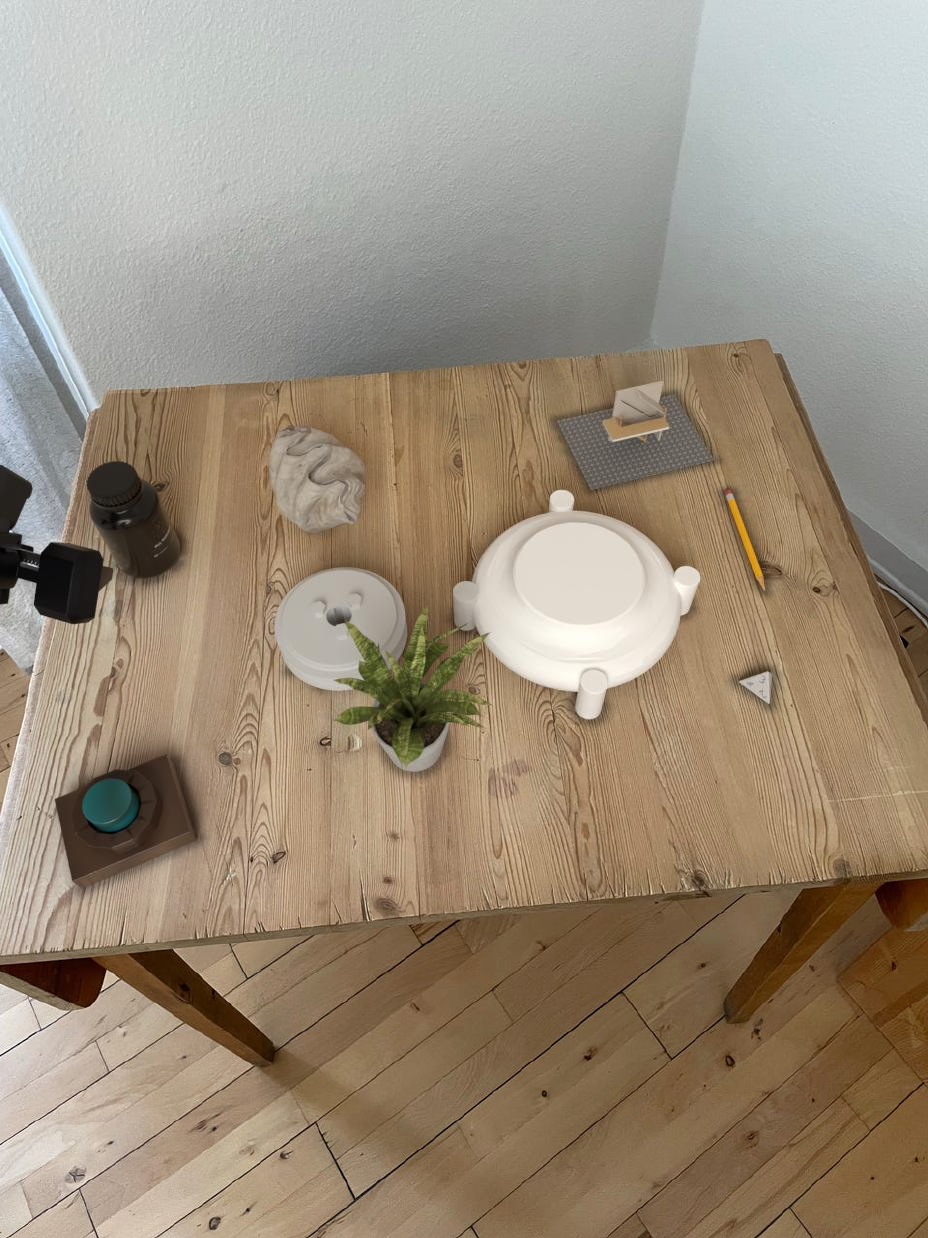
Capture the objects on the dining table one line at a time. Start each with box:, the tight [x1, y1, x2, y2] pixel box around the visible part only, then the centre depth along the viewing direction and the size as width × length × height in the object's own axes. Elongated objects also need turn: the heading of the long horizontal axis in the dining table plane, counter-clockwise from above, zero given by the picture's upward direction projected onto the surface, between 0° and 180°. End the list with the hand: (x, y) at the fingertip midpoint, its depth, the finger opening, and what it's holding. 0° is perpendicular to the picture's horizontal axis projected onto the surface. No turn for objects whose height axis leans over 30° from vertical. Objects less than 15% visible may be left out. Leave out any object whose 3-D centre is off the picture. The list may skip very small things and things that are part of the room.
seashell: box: [268, 424, 367, 534], centre depth 92 cm, size 10×15×10 cm
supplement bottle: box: [86, 460, 182, 579], centre depth 88 cm, size 7×7×12 cm
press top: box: [83, 778, 139, 832], centre depth 73 cm, size 4×4×2 cm
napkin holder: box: [602, 380, 670, 443], centre depth 98 cm, size 3×7×7 cm, turn 106°
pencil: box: [724, 489, 766, 592], centre depth 93 cm, size 1×13×1 cm, turn 7°
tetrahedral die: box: [738, 670, 773, 705], centre depth 83 cm, size 4×3×3 cm
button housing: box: [54, 753, 197, 890], centre depth 75 cm, size 10×8×4 cm
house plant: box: [332, 604, 492, 773], centre depth 73 cm, size 14×14×16 cm
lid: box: [273, 566, 408, 692], centre depth 85 cm, size 13×13×5 cm
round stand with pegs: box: [452, 489, 701, 720], centre depth 85 cm, size 24×24×7 cm
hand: (71, 562), depth 82 cm, fingers open, 9 cm apart
